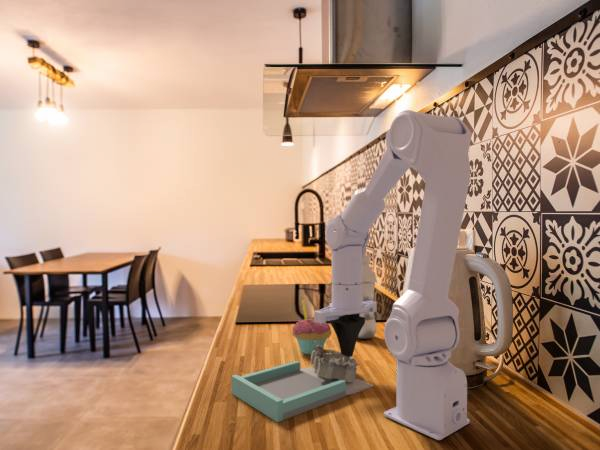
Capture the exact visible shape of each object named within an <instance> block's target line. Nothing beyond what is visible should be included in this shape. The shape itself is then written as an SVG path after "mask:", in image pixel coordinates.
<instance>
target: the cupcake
mask: <svg viewBox="0 0 600 450" xmlns="http://www.w3.org/2000/svg"><path fill="white" fill-rule="evenodd" d="M301 299H302V300H301V304H302V310H303V315H304V316H303V317H304V319H300V320H298V321H297V322H296V323H295V324H294V325H293V326H292V331H291V332H292V333H291V335H292V336H293V337H294V338H295V339H296V341H297V344H298V347H299V349H300V353H302V354H304V355H311V354H312V352H313V351H314V349H315V344H314V341H316V344H318V345H320V346H322V347H323V348H324V347H325V343H326V341H327V339H329V338H330V337H331V335H332V330H331V327H330V325H329V324H328V323H327V321H326V322H325V323H323V324H321V323H317V322H314V318H312V317H311V318H308V313H307V306H306V305H307V304H306V301H305V300H304V298H303V297H301Z"/></svg>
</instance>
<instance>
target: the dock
mask: <svg viewBox="0 0 600 450" xmlns="http://www.w3.org/2000/svg"><path fill="white" fill-rule="evenodd" d="M230 377H231V378H230V379H231V386H230V387H231V389H230V390H231V391H230V392H231V395H233V396H234V397H236V398H238V399H239V400H241V401H243V402H244V403H246V404H247V405H249V406H250V407H252V408H254V409H256V411H258V412H260V413H262V414H263V415H264V416H266V417H268V418H269V419H271V420H273V421H274V422H276V423H280V422H282V421H285V420H287V419H291V418H292V417H296V416H298V415H301V414H304V413H305V412H308V411H311V410H314V409H316V408H319V407H321V406H325V405H327V404H329V403H333V402H335V401H337V400H340V399H342V398H345V397H347V396H348V395H354V394H357V393H359V392H361V391H365V390H367V389H370V388H372V387H374V386H375V385H374V384H372V383H370V382H366V381H365V380H362V379H359V378H356V377H355V380H354V382H346V381H344V380H339V379H334V378H333V379H328V378H324V377H321V376H318V375H317V370H315V369H314V368H313V366H309V367H307V366H306V367H301V362H300V361H298V360H294V361H290V362H288V363H283V364H279V365H277V366H273V367H269V368H266V369H261V370H258V371H255V372H251V373H247V374H244V375H238V374H233V375H231V376H230Z"/></svg>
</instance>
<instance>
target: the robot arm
mask: <svg viewBox="0 0 600 450" xmlns="http://www.w3.org/2000/svg"><path fill="white" fill-rule="evenodd" d="M472 137H473V133H472V131H471V130H470V128H469V127H468V126H467V125H466V124H465V123H464V121H463V120H462V119H460V118H459V117H456V116H453V115H451V116H450V115H449V116H446V115H445V116H444V115H436V114H430V113H423V112H417V111H415V110H414V111H413V110H411V109H405V110H402V111H401V112H399V113H398V114H397V115H396V116H394V118H393V120H392V123H391V125H390V127H389V129H388V130H387V132H386V133H385V146H386V149H385V152H384V153H383V155H382V157H381V159H380V160H379V162H378V164H377V166H376V168H375V170H374V173H373V174H372V176H371V178H370V179H369V181H368V183H367V185H366V186H365V187H359V188H358V189H356V190H355V191H354V193H353V194H352V196H351V198H350V200H349V202H348V203H347V204H346V206H345V207H344V209H343V211H342V212H341V214H340V215H339V214H336V217H331V218H330V219H328V221H327V223H326V226H325V233H324V234H325V235H324V236H325V240H326V244H327V246H328V247H329V248H330V249H331V302H330V303H329V304H328V306H325V307H324V308H321V309H318V310H314V312H313V317H314V322H317V323H321V324H323V323H325V322H326V323H327V322H329V324H330V325H331V326H332V329H333V330H334V331H333V332H334V333H335V335H336V339H337V342H338V344H339V345H338V346H339V348H340V352H341V354H342V355H344V356H347V357H351V356H352V357H353V355H354V351H355V347H356V344H357V341H358V339H359V338H358V335H359V333H360V331H361V329H362V327H363V325H364V324H365V318H364V317H360V314H363V313H367V312H374V313H376V312H377V311H378V308H377V307H378V306H377V305H378V304H377V303H378V302H377V301H375V300H373V301H362V258H363V257H364V256H365V255H366V250H367V249H366V248H367V246H368V244H369V241H370V235H371V234H370V233H369V231H370V229H371V228H372V226H373V225H374V224H375V222H376V221H378V219H379V217H380V216H381V214H382V213H383V212H384V210H385V208H386V203H385V199H384V198H386V197H387V195H388V194H389V193H390V192H391V190H392V189H393V188H395V186H396V184H398V182H399V181H400V179H402V177H403V176H404V175H405V174H406V173H407V171H409V169H410V168H411V169H412V170H414V171H416V172H417V173H418V175H419V176H420V177H421V179H422V180H423V181H424V183H425V186H424V191H423V198H422V203H421V204H422V205H421V210H420V215H419V216H420V217H419V222H418V228H417V234H416V240H415V246H414V251H413V252H414V253H413V259H412V264H411V269H410V276H409V283H408V288H407V290H406V291H405V292H403V294H402V295H401V296H399V297H398V298H397V300H395V302H394V303H393V304H392V308H391V313H390V315H389V317H388V319H387V320H386V321H385V324H384V328H383V329H384V330H383V337H384V342H385V344H386V347H387V349H388V350H389V352H390V354H391V355H392V358H394V359H396V373H395V375H396V384H395V385H396V387H395V389H396V390H395V391H396V398H395V399H396V401H395V403H396V406H394V407H392V408H390V409H388V410H385V411H384V412H383V416H384V417H386V418H388V419H391V420H393V421H394V422H397V423H399V424H401V425H403V426H406V427H408V428H410V429H412V430H415V431H416V432H419V433H421V434H423V435H425V436H428V437H430V438H431V439H435V440H436V441H441V440H443V439H444V438H446V437H448V436H450V435H452V434H454V433H455V432H456V431H459V430H460V429H462V428H463V427H465V426H467V425H468V424H470V423H471V420H470V419H469V418H468V380H467V376H466V374H465V372H464V370H463V369H461V368H459V367H457V366H455V365H453V364H452V363H451V362H450V361H449V359H451V358H452V351H453V350H454V349H455V348H456V347H458V345H459V342H460V338H461V336H460V335H461V331H460V326H459V313H460V308H459V307H458V306H457V305H456V304H455V303H454V302H453V301H452V300H451V299H450V298H449V297H448V296H449V291H450V286H451V281H452V276H453V270H454V265H455V260H456V255H457V250H458V245H459V239H460V234H461V230H462V229H461V228H462V223H463V218H464V212H465V207H466V203H467V202H466V201H467V196H468V191H469V185H470V181H471V180H470V179H471V174H472V173H471V172H472V171H471V166H470V165H471V163H470V157H469V156H470V155H469V152H470V145H471V140H472Z"/></svg>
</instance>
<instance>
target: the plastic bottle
mask: <svg viewBox="0 0 600 450" xmlns="http://www.w3.org/2000/svg"><path fill="white" fill-rule="evenodd" d="M370 264H371V256H370V255H366V254H365V256H364V257H363V258H362V301H374V297H375V286H376V275H375V273H374V271H373V269H372V267H370ZM360 317H364V318H365V324H364V325H363V327H362V329H361V331H360V333H359V335H358V338H357V339H363V340H364V339H365V340H366V339H371V338H374V337H375V335H376V333H377V322H376V318H375V312H367V313H363V314H360Z"/></svg>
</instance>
